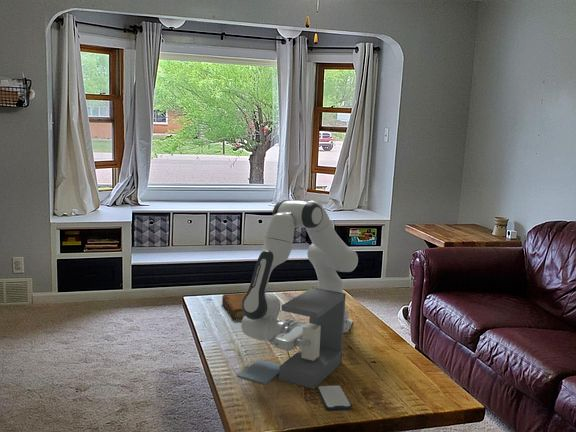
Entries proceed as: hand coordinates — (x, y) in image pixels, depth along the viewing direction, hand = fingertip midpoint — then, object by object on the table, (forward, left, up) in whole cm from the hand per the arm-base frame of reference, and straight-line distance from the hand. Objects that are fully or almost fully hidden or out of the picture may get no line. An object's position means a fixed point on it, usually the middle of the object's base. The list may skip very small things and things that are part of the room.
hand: (313, 340), depth 208 cm
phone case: (+14, +15, -13) cm, 24 cm away
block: (0, -1, -7) cm, 7 cm away
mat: (+9, -16, -13) cm, 22 cm away
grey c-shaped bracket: (-2, -1, -13) cm, 13 cm away
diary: (-46, -57, -13) cm, 74 cm away
